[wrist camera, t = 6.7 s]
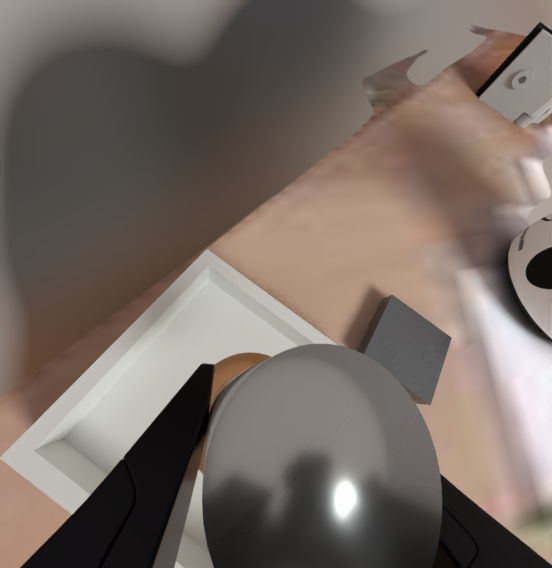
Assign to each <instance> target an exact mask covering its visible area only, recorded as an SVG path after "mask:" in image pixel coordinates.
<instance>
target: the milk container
mask: <svg viewBox="0 0 552 568" xmlns="http://www.w3.org/2000/svg"><path fill="white" fill-rule="evenodd" d="M506 264H507V278H508V281H509V284H510V286H511V288H512V291H513V294H514V297H515V299H516V301H517V302H518V304H519V305H520V307H521V308H522V309H523V311H524V313H525V315H526V316H527V318H528V319H529V320H530V321H531V322H532V323H533V324H534V325H535V326H536V327H537V328H538V329H539V330H540V331H541V332H542V333H543V334H544V335H545V336H546V337H547V338H548V339H549V340H551V341H552V214H550V215H548V216H546V217H544V218H542V219H541V220H539V221H537V222H535V223H534V224H532V225H531V226H529V227H528V228H526V229H525V230H524V231H522V232H521V233H520V234H518V235H517V237H516V238H515V239H514V240H513V241H512V243H511V244H510V247H509V249H508V252H507V257H506Z"/></svg>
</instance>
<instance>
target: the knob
mask: <svg viewBox="0 0 552 568" xmlns="http://www.w3.org/2000/svg"><path fill="white" fill-rule="evenodd" d="M199 470H200V471H201V473H202V474H203V488H202V511H203V525H204V530H205V536H206V542H207V547H208V550H209V554H210V557H211V560H212V564H213V567H214V568H432V566H433V563H434V559H435V555H436V551H437V547H438V543H439V537H440V530H441V522H442V486H441V478H440V471H439V465H438V460H437V456H436V452H435V448H434V445H433V442H432V439H431V436H430V433H429V430H428V428H427V426H426V423H425V421H424V419H423V417H422V415H421V413H420V411H419V409H418V408H417V406H416V404H415V402H414V401H413V399H412V398H411V396H410V395H409V394H408V392H407V391H406V389H405V388H404V387H403V386H402V385H401V384H400V382H399V381H398V380H397V379H396V378H395V377H394V376H393V375H392V374H391V373H390V372H389V371H388V370H387V369H385V368H384V367H383V366H381V365H380V364H379V363H378V362H376V361H375V360H373V359H371V358H370V357H368V356H366V355H364V354H362V353H360V352H358V351H355V350H353V349H350V348H347V347H343V346H339V345H332V344H308V345H302V346H298V347H294V348H291V349H288V350H285V351H283V352H281V353H279V354H277V355H275V356H273V357H271V356H268V355H265V354H261V353H254V352H248V353H239V354H235V355H232V356H229V357H227V358H225V359H223V360H221V361H219V362H218V363H216V364H215V371H214V380H213V388H212V396H211V403H210V410H209V417H208V423H207V430H206V438H205V444H204V448H203V453H202V457H201V461H200V465H199Z"/></svg>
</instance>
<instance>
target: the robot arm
mask: <svg viewBox="0 0 552 568" xmlns="http://www.w3.org/2000/svg"><path fill="white" fill-rule="evenodd" d="M214 371H215V365H214V364H207V363H202V364H201V365H200V366H199V367H198V368H197V369H196V370H195V372H194V373H193V374H192V375H191V376H190V378H189V379H188V380H187V381H186V382H185V384H184V385H183V386H182V387H181V388H180V390H179V391H178V392H177V393H176V394H175V396H174V397H173V398H172V399H171V400H170V402H169V403H168V404H167V405H166V406H165V408H164V409H163V410H162V411H161V412H160V414H159V415H158V416H157V417H156V418H155V419H154V421H153V422H152V423H151V424H150V425H149V427H148V428H147V429H146V430H145V431H144V433H143V434H142V435H141V436H140V437H139V439H138V440H137V441H136V442H135V443H134V445H133V446H132V447H131V448H130V449H129V451H128V452H127V453H126V454H125V455H124V457H123V459H121V460H120V461H119V462H118V463H117V465H116V466H115V467H114V468H113V469H112V471H111V472H110V473H109V474H108V475H107V477H106V478H105V479H104V480H103V481H102V482H101V483H100V485H99V486H98V487H97V488H96V489H95V490H94V491H93V493H92V494H91V495H90V496H89V497H88V498H87V499H86V501H85V502H84V503H83V504H82V505H81V506H80V507H79V508H78V509H77V510H76V511H75V512H74V513H73V514H72V515H71V516H70V517H69V518H68V519H67V520H66V521H65V523H64V524H63V525H62V526H61V527H60V528H59V529H58V530H57V531H56V532H55V533H54V534H53V535H52V536H51V537H50V538H49V539H48V540H47V541H46V542H45V543H44V544H43V545H42V546H41V547H40V548H39V549H38V550H37V551H36V552H35V553H34V554H33V555H32V556H31V557H30V558H29V559H28V560H27V561H26V562H25V563H24V564H23V565H22V566H21V567H20V568H174V566H175V562H176V558H177V554H178V550H179V546H180V542H181V538H182V534H183V530H184V526H185V522H186V518H187V514H188V510H189V506H190V502H191V497H192V493H193V489H194V485H195V481H196V477H197V473H198V469H199V465H200V461H201V457H202V453H203V448H204V444H205V438H206V430H207V423H208V417H209V410H210V403H211V396H212V388H213V380H214ZM440 478H441V486H442V522H441V530H440V537H439V543H438V547H437V551H436V555H435V559H434V563H433V566H432V568H552V565H551V564H550V563H548V562H547V561H546V560H545V559H543V558H542V557H541V556H540V555H538V554H537V553H536V552H535V551H534V550H532V549H531V548H530V547H529V546H527V545H526V544H525V543H524V542H522V541H521V540H520V539H519V538H517V537H516V536H515V535H514V534H512V533H511V532H510V531H509V530H507V529H506V528H505V527H504V526H503V525H501V524H500V523H499V522H498V521H496V520H495V519H494V518H493V517H491V516H490V515H489V514H488V513H486V512H485V511H484V510H483V509H482V508H480V507H479V506H478V505H477V504H475V503H474V502H473V501H472V500H471V499H469V498H468V497H467V496H466V495H465V494H463V493H462V492H461V491H460V490H459V489H457V488H456V487H455V486H454V485H453V484H452V483H451V482H449V481H448V480H447V479H446V478H445V477H444V476H443V475H441V474H440Z"/></svg>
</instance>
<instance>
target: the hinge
mask: <svg viewBox="0 0 552 568" xmlns="http://www.w3.org/2000/svg"><path fill="white" fill-rule="evenodd" d="M476 95H478V96H479V99H480V100H481V101H483V102H484V103H486V104H487V105H488V106H490V107H491V108H493V109H494V110H496V111H497V112H499V113H500V114H501V115H503V116H504V117H506V118H507V119H509V120H510V121H512V122H513V121H515V122H516V123H517V124H518V125H519V126H521V127H523V128H526V127H527V126H528V125H529V124H530V123H532V122H534V123H539V122H541V121H542V120H543V119H544V118H546V117H547V116H548V115H549V114H551V113H552V28H550V27H549V26H547V25H546V24H545V25H544V24H542V23H541V22H540V23H539V24H538V25H537V26H536V27H535V28H534V29H533V30H532V31H531V32H530V34H529V35H528V36H527V37H526V38H525V39H524V40H523V41H522V42H521V43H520V45H519V46H518V47H517V48H516V49H515V50H514V51H513V52H512V53H511V54H510V55H509V57H508V58H507V59H506V60H505V61H504V62H503V63H502V64H501V65H500V66H499V68H498V69H497V70H496V71H495V72H494V73H493V74H492V75H491V76H490V77H489V79H488V80H487V81H486V82H485V83H484V84H483V85H482V86H481V87H480V88H479V90H478V92H477V93H476Z"/></svg>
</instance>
